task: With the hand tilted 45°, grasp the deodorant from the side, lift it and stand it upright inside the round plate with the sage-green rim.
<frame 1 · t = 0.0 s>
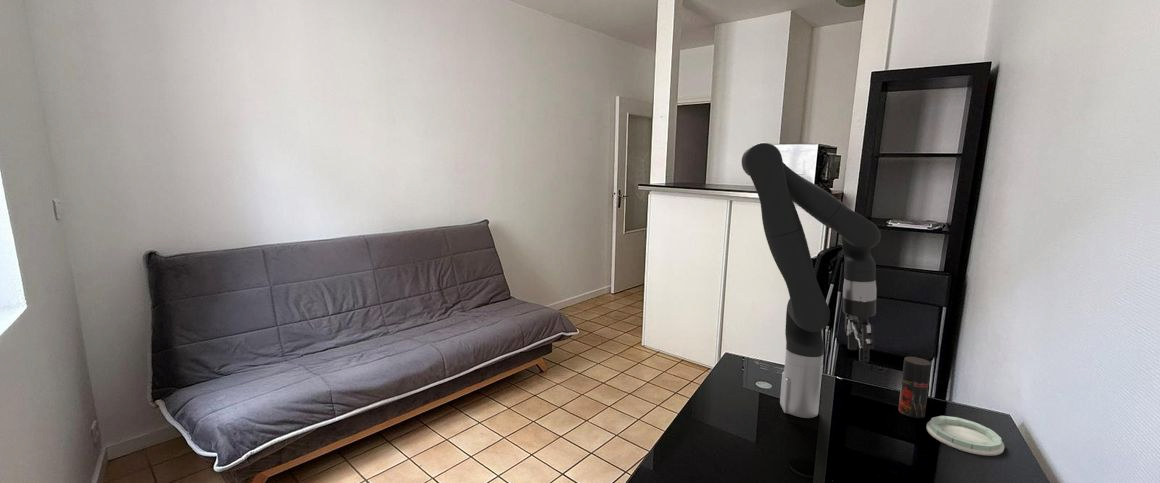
hand: (858, 355, 124), 17 cm above the table, tool pointing down, fingers open, 8 cm apart
deodorant: (911, 413, 128), on the table
round plate: (963, 437, 116), on the table
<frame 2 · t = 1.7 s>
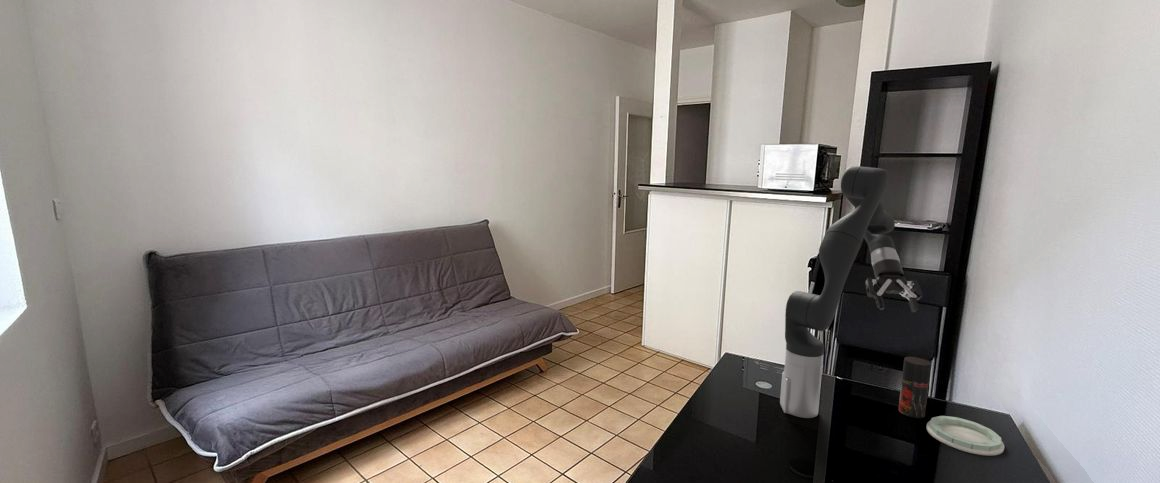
hand: (898, 309, 138), 25 cm above the table, tool tilted 45°, fingers open, 8 cm apart
nothing on the table moved.
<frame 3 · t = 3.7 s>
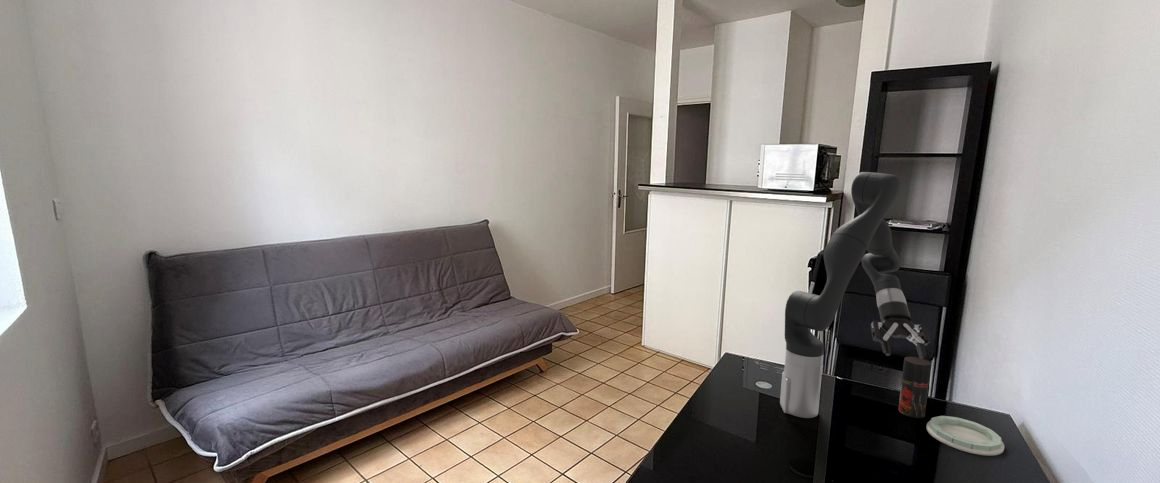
hand: (905, 356, 132), 14 cm above the table, tool tilted 45°, fingers open, 8 cm apart
nothing on the table moved.
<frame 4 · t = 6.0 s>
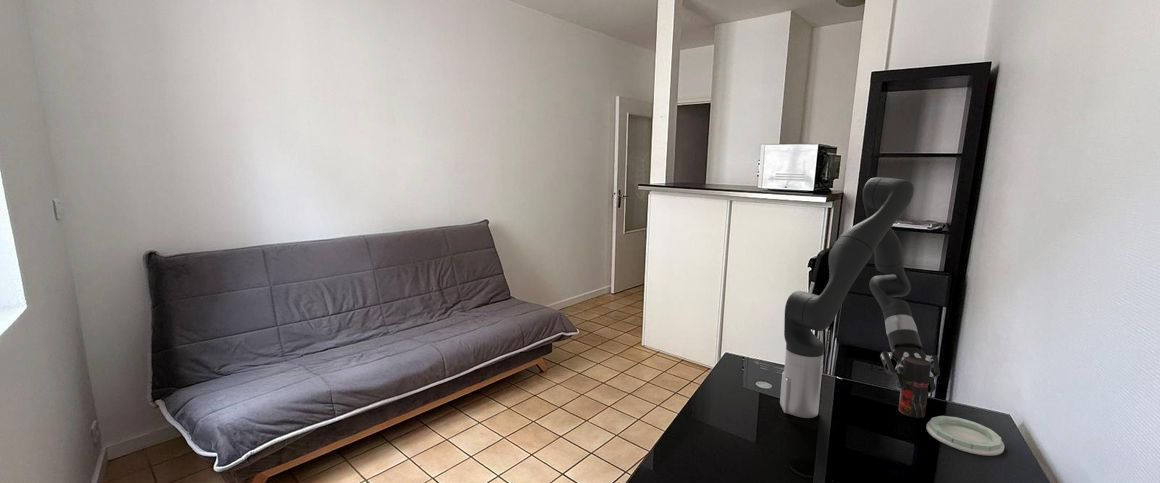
hand: (917, 390, 125), 7 cm above the table, tool tilted 45°, fingers closed on deodorant, 6 cm apart
deodorant: (911, 413, 128), on the table, touching gripper
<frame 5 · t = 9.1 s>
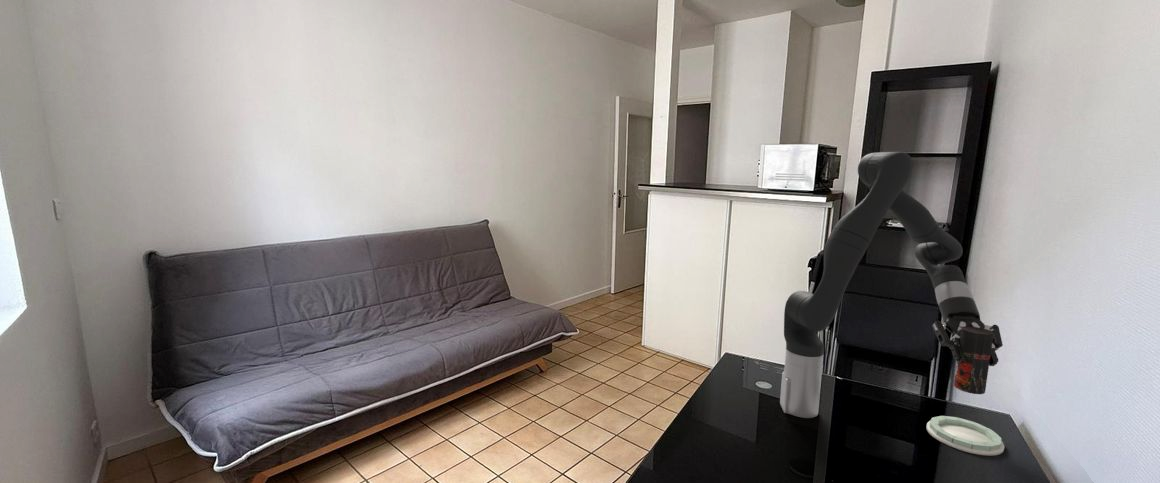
hand: (977, 363, 112), 20 cm above the table, tool tilted 45°, fingers closed on deodorant, 6 cm apart
deodorant: (969, 389, 114), point 13 cm above the table, touching gripper
when the fingers open (9 cm above the table, at t = 12.2 s): deodorant stays where it is, resting on round plate.
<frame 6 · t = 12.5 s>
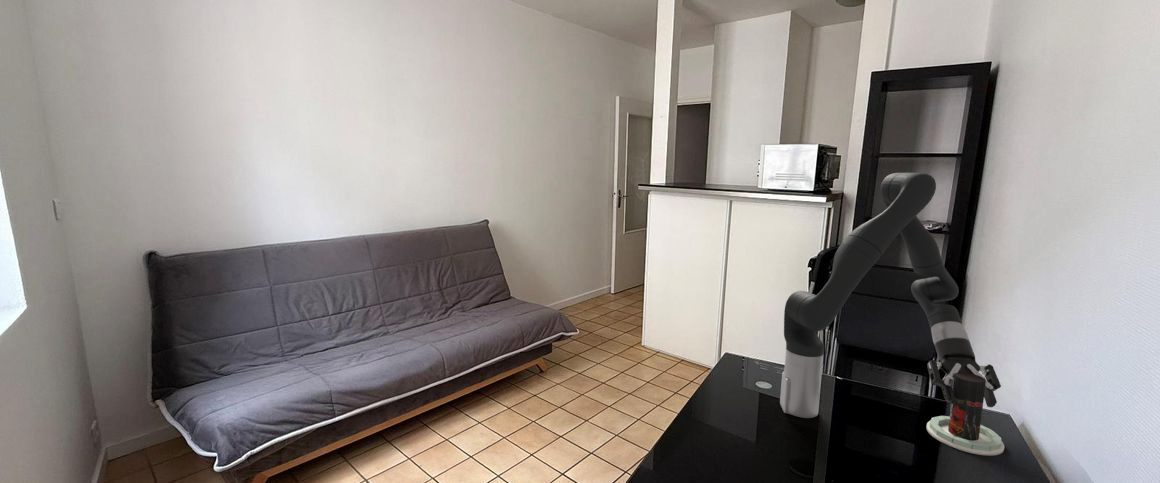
hand: (971, 404, 113), 10 cm above the table, tool tilted 45°, fingers open, 8 cm apart
deodorant: (963, 434, 116), point 1 cm above the table, touching round plate
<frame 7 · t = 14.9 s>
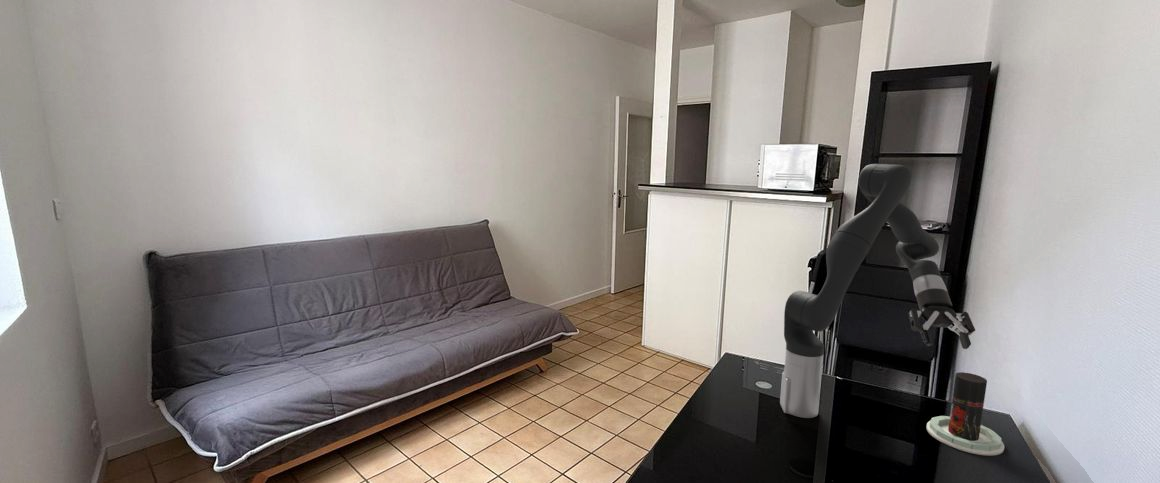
hand: (948, 346, 124), 20 cm above the table, tool tilted 45°, fingers open, 8 cm apart
nothing on the table moved.
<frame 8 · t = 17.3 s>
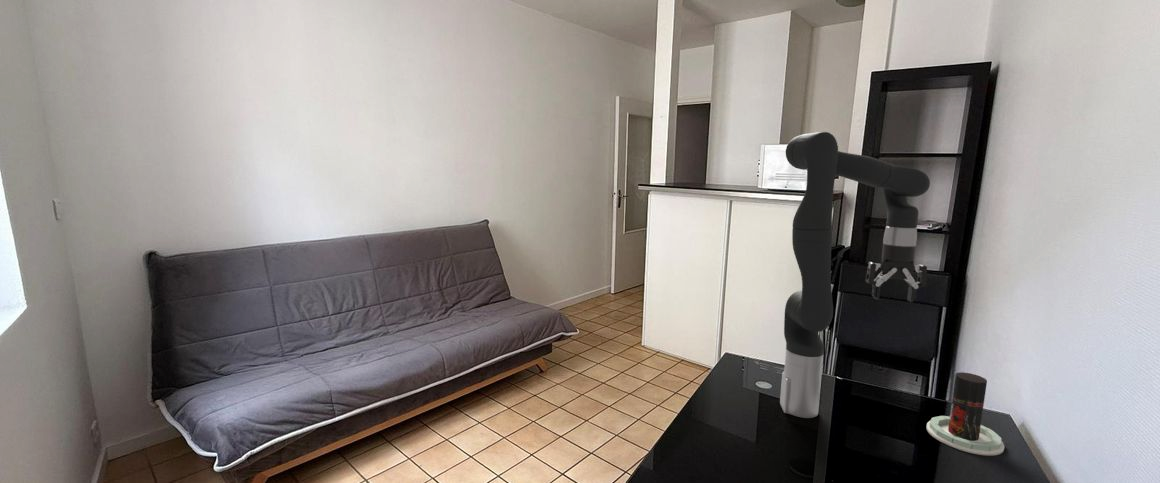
hand: (893, 299, 131), 30 cm above the table, tool pointing down, fingers open, 8 cm apart
nothing on the table moved.
at the end: deodorant 0.2 cm off-centre on the round plate, point 0.6 cm above the round plate's base; deodorant tilted 0°; the gripper is holding nothing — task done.
